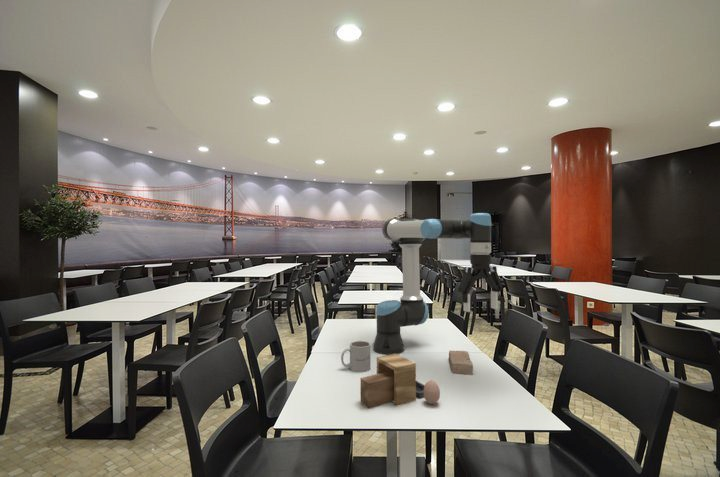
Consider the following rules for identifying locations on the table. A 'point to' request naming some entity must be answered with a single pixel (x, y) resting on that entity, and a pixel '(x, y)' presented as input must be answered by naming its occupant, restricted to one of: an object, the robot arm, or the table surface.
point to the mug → (358, 356)
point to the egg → (431, 392)
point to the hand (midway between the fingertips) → (480, 310)
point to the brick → (460, 362)
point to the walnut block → (377, 389)
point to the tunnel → (400, 376)
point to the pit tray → (419, 390)
